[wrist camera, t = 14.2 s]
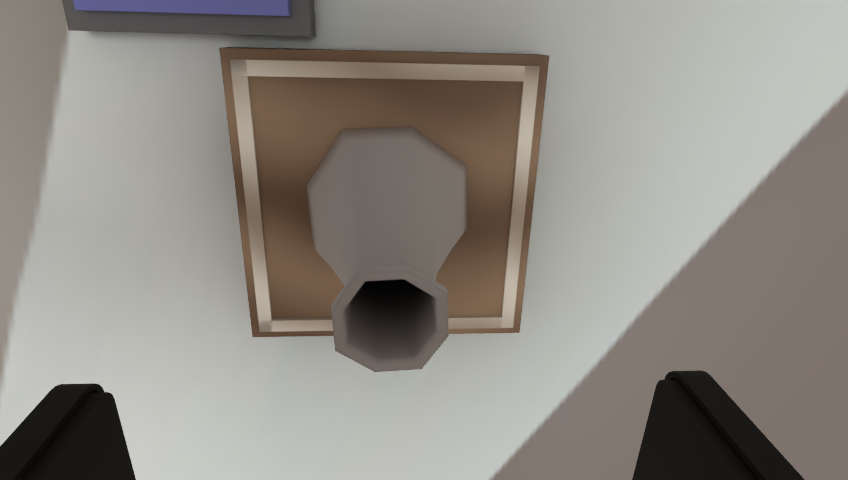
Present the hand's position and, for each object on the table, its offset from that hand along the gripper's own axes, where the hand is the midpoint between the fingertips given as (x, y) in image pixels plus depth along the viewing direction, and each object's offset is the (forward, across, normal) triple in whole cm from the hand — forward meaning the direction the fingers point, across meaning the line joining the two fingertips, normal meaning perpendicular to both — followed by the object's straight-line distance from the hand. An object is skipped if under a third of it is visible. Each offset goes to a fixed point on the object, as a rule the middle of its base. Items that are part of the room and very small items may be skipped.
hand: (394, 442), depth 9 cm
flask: (+15, 0, +1) cm, 15 cm away
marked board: (+16, 0, +1) cm, 16 cm away
